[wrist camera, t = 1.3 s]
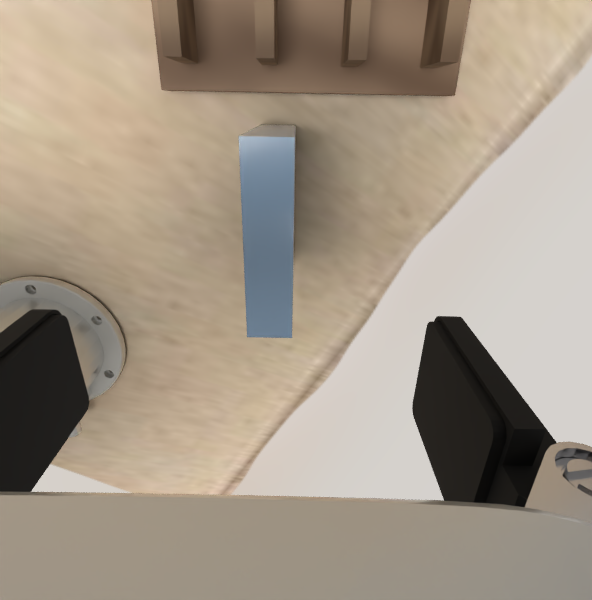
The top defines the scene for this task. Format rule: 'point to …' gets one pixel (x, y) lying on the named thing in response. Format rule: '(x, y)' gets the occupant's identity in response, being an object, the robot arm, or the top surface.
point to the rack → (311, 45)
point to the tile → (268, 228)
